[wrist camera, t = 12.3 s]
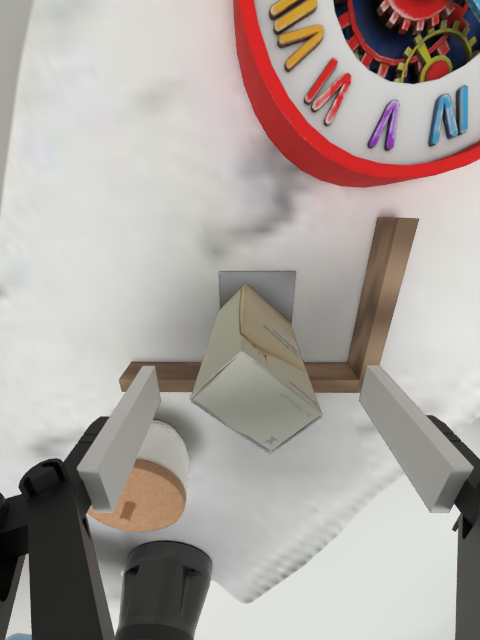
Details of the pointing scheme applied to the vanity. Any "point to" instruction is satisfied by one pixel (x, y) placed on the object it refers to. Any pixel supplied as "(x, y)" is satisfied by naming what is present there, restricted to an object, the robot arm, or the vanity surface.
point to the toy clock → (364, 84)
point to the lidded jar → (153, 484)
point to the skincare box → (255, 374)
